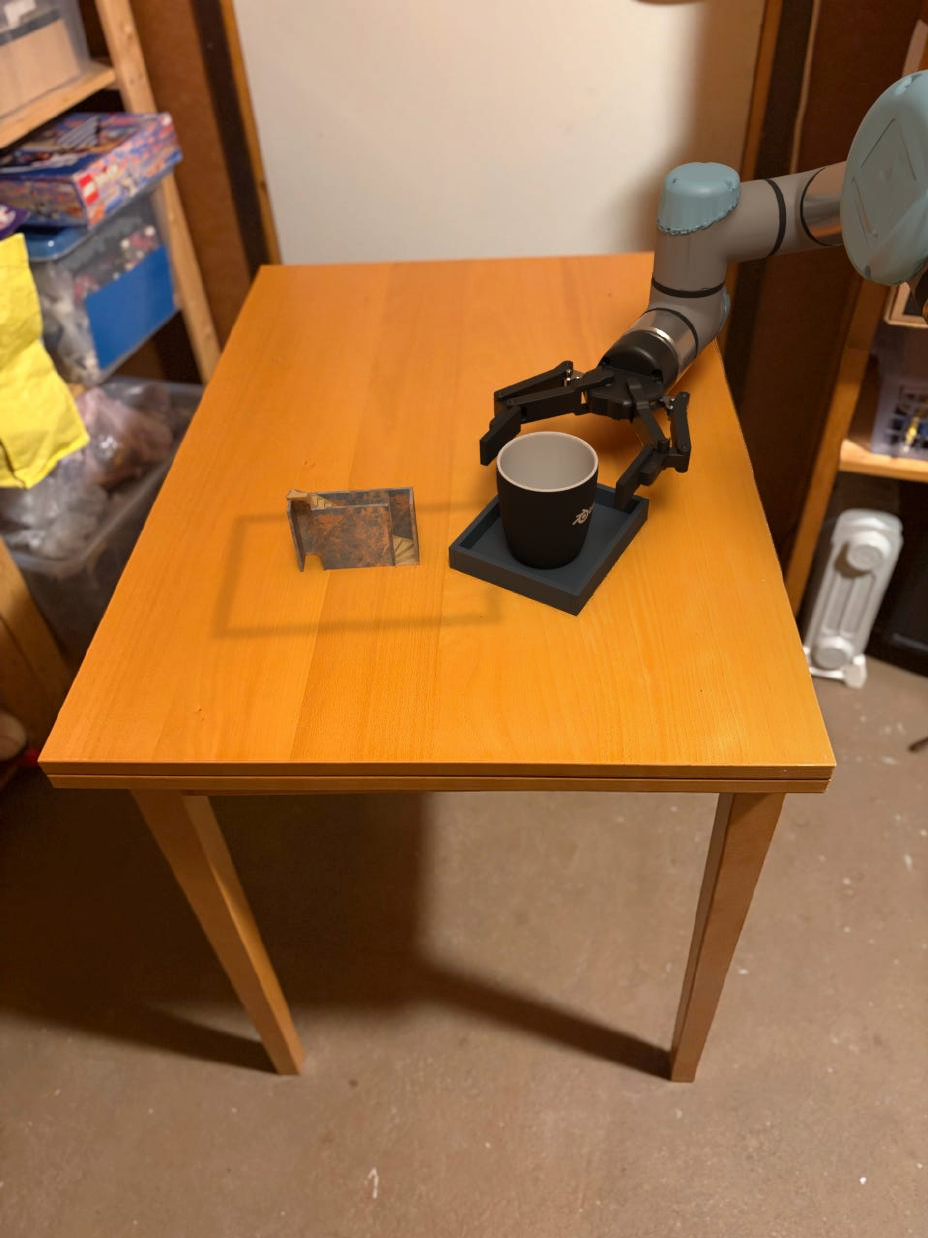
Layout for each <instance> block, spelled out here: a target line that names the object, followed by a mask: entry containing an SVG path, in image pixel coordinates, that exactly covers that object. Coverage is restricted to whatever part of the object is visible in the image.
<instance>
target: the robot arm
mask: <svg viewBox="0 0 928 1238" xmlns="http://www.w3.org/2000/svg"><path fill="white" fill-rule="evenodd" d="M659 195H660V196H659V201H658V208H657V212H656V216H655V237H654V239H655V240H654V252H653V253H654V254H653V264H652V265H653V267H652V273H651V279H650V288H649V296H648V305H647V307H646V309H645V310H644V311H643V313H642V314H641V315H640V316H639V317H638V318H637V319H636V320H635V321H634V322H633V323H632V324H631V325H630V326H629V327H628V328H627V329H626V330H625V331H624V332H623V333H622V334H621V336H620V337H619V338H618V339H617V340H616V341H615V342H614V343H613V344H612V345H611V346H610V348H609V349H607V351H606V352H605V353H604V354H603V355H602V356H601V358H600V360H599V361H598V363H597V365H596V367H594V368H593V369H590V370H588V371H586V372H582V371H579V370H575V369H574V361H572V360H563V361H561V362H560V363H559V364H558V365H556V366H555V367H554V368H552V369H549V370H547V371H544V372H542V373H540V374H539V373H538V374H535V375H534V376H531V377H528V378H526V379H524V380H521V381H518V382H515V383H513V384H511V385H508V386H505V387H503V388H500V389H497V390H494V391H493V416H494V417H493V418H492V419H490V421H489V424H488V431H487V432H485V434H484V435H483V436H482V437H481V438H480V439H479V440H478V442H479V444H478V446H479V465H481V466H484V467H489V466H490V465H491V463H493V461H495V460H496V459H497V456H498V454H499V452H500V450H501V449H502V448H503V447H504V446H505V445H506V444H507V443H509V442H510V441H512V440H513V439H515V438H517V437H518V435H519V434H520V433H521V432H522V425H526V424H529V423H530V424H531V423H534V422H539V421H544V420H547V419H552V418H557V417H562V416H564V415H569V414H573V415H574V416H576V417H579V416H583V415H588V414H593V415H596V416H601V417H607V418H609V419H611V420H614V421H617V422H621V421H627V423H628V425H629V427H630V429H631V431H632V433H635V434H636V435H637V437H638V440H639V441H640V444H641V445H642V447H643V448H642V449H641V450H640V452H639V453H638V454H637V456H635V458H634V459H633V461H631V463H630V464H629V466H627V468H626V469H625V471H624V472H623V473H622V474H621V476H620V477H619V478H618V480H616V482H615V487H614V488H615V498H614V508H616V509H619V510H622V509H623V508H624V506H625V505H626V504H627V502H628V501H629V500H630V498H631V497H632V496H633V494H635V493H636V492H637V490H638V489H639V488H640V486H641V485H642V486H644V487H651V486H652V485H653V484H654V483H655V482H656V480H657V479H658V478H659V476H660V475H661V474H662V472H665V471H667V469H671V468H673V469H674V470H675V472H677V473H680V474H685V473H687V472H688V471H689V467H690V461H691V454H692V441H691V440H692V439H691V434H690V428H689V426H690V425H689V421H688V412H689V406H690V399H691V393H690V392H688V391H686V390H681V391H679V392H677V393H676V396H672V395H668V394H670V393H671V391H672V390H673V388H674V387H675V385H676V384H677V383H678V382H679V381H680V380H681V378H682V377H683V376H684V375H685V374H686V372H687V371H688V370H689V369H690V367H691V366H692V365H693V364H694V362H695V361H696V359H697V358H698V357H699V356H700V355H701V354H702V352H703V351H704V350H705V349H706V348H707V347H708V346H709V345H710V344H711V343H713V341H714V340H715V339H716V338H717V337H718V334H719V333H720V332H721V331H722V329H723V326H724V324H725V323H726V321H727V319H728V316H729V314H730V311H731V310H730V309H731V299H730V298H731V297H730V294H729V292H728V290H727V286H726V285H725V280H726V275H727V270H728V266H729V265H732V264H738V263H744V262H748V261H749V262H750V261H755V260H759V259H768V258H770V257H776V256H783V255H788V254H789V255H790V254H796V253H803V252H808V251H813V250H820V249H821V250H822V249H828V248H835V247H839V246H844V250H845V252H846V254H847V257H848V259H849V261H850V264H851V265H852V267H853V268H854V270H855V271H856V272H857V274H859V275H860V276H861V277H863V278H864V279H865V280H868V281H872V282H874V283H876V284H878V285H879V284H880V285H884V286H886V287H892V286H893V287H896V286H900V285H903V284H907V285H908V288H909V289H910V291H911V293H912V296H913V298H914V300H915V302H916V304H917V307H918V309H919V311H920V314H921V315H922V318H923V321H924V322H925V323H926V325H927V326H928V69H924V70H920V71H915V72H912V73H910V74H907V75H906V76H903V77H902V78H900V79H898V80H896V81H895V82H893V84H891V85H890V86H888V88H886V90H884V91H883V92H882V93H881V94H880V96H879V97H878V98H876V100H875V102H874V103H873V104H872V105H871V106H870V108H869V109H868V111H867V112H866V114H865V116H864V117H863V119H862V121H861V123H860V125H859V126H858V129H857V130H856V133H855V136H854V138H853V140H852V142H851V145H850V148H849V152H848V155H847V158H846V160H844V161H841V162H837V163H833V164H830V165H825V166H821V167H818V168H815V169H812V170H807V171H803V172H797V173H792V174H787V175H782V176H776V177H771V178H763V179H755V180H747V181H742V182H741V178H740V175H739V173H738V172H737V171H736V170H735V169H734V168H733V167H731V166H728V165H725V164H723V163H719V162H711V161H709V162H705V163H703V162H700V161H694V162H688V163H684V164H681V165H678V166H676V167H674V168H673V169H671V170H670V171H669V172H668V173H667V174H666V176H665V177H664V180H663V182H662V186H661V191H660V194H659ZM583 399H584V402H583V401H582V400H583ZM582 402H583V403H582ZM660 410H663V411H664V415H665V416H666V420H667V421H668V422H670V423H669V434H670V436H669V437H666V435H665V433H664V432H663V430H662V428H661V426H660V424H659V422H658V420H657V418H656V416H655V415H654V413H656V412H658V411H660Z"/></svg>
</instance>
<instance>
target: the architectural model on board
mask: <svg viewBox="0 0 928 1238" xmlns="http://www.w3.org/2000/svg"><path fill="white" fill-rule="evenodd" d="M414 493H415V492H414V486H401V487H400V486H399V487H398V486H397V487H384V488H383V487H382V488H363V489H349V490H333V491H314V492H313V491H305V490H300V489H297V488H292V487H290V489H289V491H288V493H287V494H286V495H285V496H284V497H285V500H286V502H287V505H286V516H287V519H288V524H289V528H290V533H291V538H292V542H293V547H294V549H295V554H296V559H297V564H298V567H299V572H300V573H304V570H305V562H306V557H307V556H310V557H311V556H320V559H321V563H322V564H321V565H322V568H323V571H331V570H333V571H334V570H350V569H365V568H366V569H367V568H383V567H384V568H385V567H409V566H414V567H415V568H417V566H420V541H419V533H418V522H417V512H416V504H415V503H416V502H415V494H414Z"/></svg>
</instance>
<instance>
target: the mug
mask: <svg viewBox="0 0 928 1238" xmlns="http://www.w3.org/2000/svg"><path fill="white" fill-rule="evenodd" d="M495 471H496V472H495V477H496V490H497V494H498V500H499V507H500V514H501V519H502V524H503V529H504V533H505V537H506V540H507V543H508V546H509V548H510V550H511V551H512V553H513V554H514V556H515V557H516V558H517V559H518V560H519V561H521V562H522V563H524V564H526V565H528V566H530V567H534V568H539V569H553V568H557V567H561V566H563V565H566V564H567V563H569V562H570V561H572V560H573V559H574V558H575V557H576V556H577V554H578V553H579V551H580V550H581V548H582V546H583V544H584V541H585V539H586V536H587V532H588V529H589V525H590V521H591V517H592V512H593V506H594V501H595V495H596V488H597V483H598V480H599V479H598V478H599V457H598V454H597V452H596V451H595V449H594V448H593V447H592V446H591V445H590V444H589V443H588V442H586V441H585V440H583V438H579V437H578V436H575V435H572V434H568V433H565V432H560V431H536V432H529V433H526V434H523V435H520V436H516V437H515V438H514V439H513V440H512V441H510V442H509V443H507V444H506V445H505V446H504V447H503V448H502V449H501V450H500V452H499V454H498V456H497V457H496V461H495Z"/></svg>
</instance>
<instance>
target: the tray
mask: <svg viewBox="0 0 928 1238" xmlns="http://www.w3.org/2000/svg"><path fill="white" fill-rule="evenodd" d="M614 498H615V487H613V486H609V485H606V484H603V483H600V482H597V488H596V495H595V501H594V506H593V512H592V517H591V521H590V525H589V529H588V532H587V536H586V539H585V541H584V544H583V546H582V548H581V550H580V551H579V553H578V554H577V556H576V557H575V558H574V559H573V560H572V561H570V562H569V563H567V564H566V565H563V566H561V567H557V568H553V569H539V568H534V567H530V566H528V565H526V564H524V563H522V562H521V561H519V560H518V559H517V558H516V557H515V556H514V554H513V553H512V551H511V550H510V548H509V546H508V543H507V540H506V537H505V533H504V529H503V524H502V519H501V514H500V507H499V500H498V493H496V495H495V496H493V498H492V499H491V501H489V502H488V503H487V505H486V506H485V507H484V508H483V509H482V510H481V511H480V512H479V513H478V515H476V517H474V519H473V520H472V521H471V522H470V523H469V524H468V525H467V526H466V528H465V529H464V530H463V531H462V532H461V533H460V534H459V536H457V537H456V538H455V540H454V541H453V542H452V543H451V544H450V545H449V546H448V548H447V549H448V562H449V568H450V569H453V570H455V571H459V572H461V573H464V574H467V575H468V576H471V577H475V578H477V579H479V580H482V581H485V582H487V583H490V584H492V585H495V586H498V587H500V588H503V589H506V590H508V591H510V592H513V593H516V594H518V595H521V596H524V597H527V598H529V599H531V600H534V601H537V602H539V603H542V604H544V605H547V606H550V607H552V608H554V609H557V610H560V611H563V612H565V613H569V615H573V616H575V617H577V616H578V615H579V614H580V613H581V612H582V610H583V609H584V608H585V606H586V604H587V603H588V602H589V600H590V599H591V597H592V596H594V594H595V592H596V590H597V589H598V588H599V587H600V585H601V584H602V582H603V581H604V580H605V578H606V577H607V576H608V574H609V573H610V571H612V569H613V567H614V566H615V564H616V563H617V562H618V561H619V559H620V557H621V556H622V555H623V554H624V552H625V551H626V549H627V548H628V547H629V546H630V544H631V542H632V541H633V540H634V539H635V537H636V536H637V535H638V533H639V531H640V530H641V529H642V528H643V526H644V525H645V523H646V522H647V521H648V519H649V510H650V502H651V499H650V498H647V497H643V496H641V495H637V494H635V493H634V494H633V496H632V497H631V498H630V500H629V501H628V502H627V504H626V505H625V506H624V508H623V509H622V510H619V509H616V508H614Z"/></svg>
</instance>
